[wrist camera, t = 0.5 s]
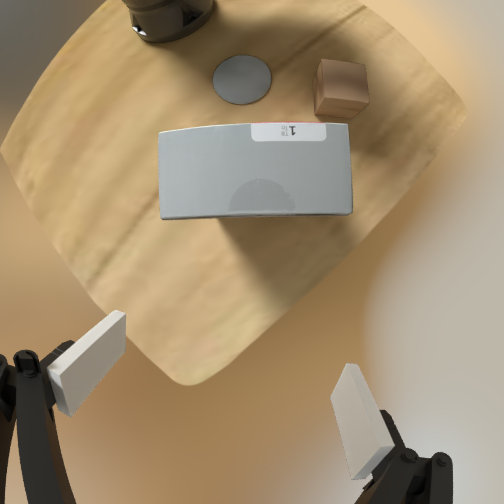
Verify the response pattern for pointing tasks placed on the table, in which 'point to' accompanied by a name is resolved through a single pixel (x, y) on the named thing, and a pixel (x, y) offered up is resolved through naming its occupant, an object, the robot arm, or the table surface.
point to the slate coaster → (242, 79)
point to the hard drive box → (255, 171)
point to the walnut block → (340, 89)
